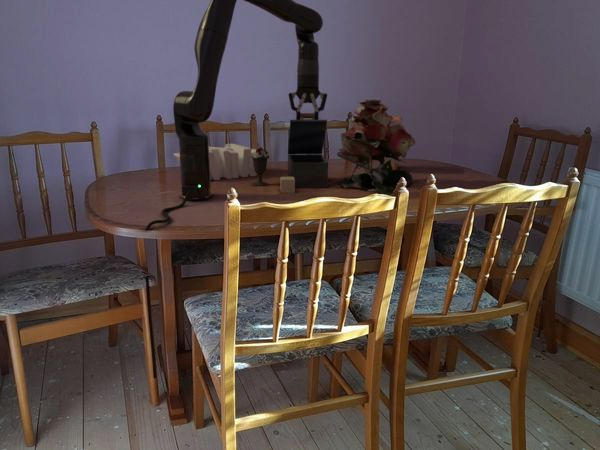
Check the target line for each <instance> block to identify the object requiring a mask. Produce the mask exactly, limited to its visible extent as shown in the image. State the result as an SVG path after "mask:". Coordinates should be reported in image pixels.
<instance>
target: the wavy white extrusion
mask: <svg viewBox="0 0 600 450" xmlns="http://www.w3.org/2000/svg"><path fill="white" fill-rule="evenodd" d="M256 149H257V148H250V147H247V146H243V145H241V144H236V143H226V144H224V147H218V146H209V164H210V182H211V181H212V180H213V181H221V178H224V179H226V180H231V179H239V177H241V178H247V177H256V176H257V177H258V176H259V175H258V174H257V173H256V172H255V171H254V165H253V159H252V157H251V156H253V154H254V153H255V152H256ZM173 156H174V157H175V158H176V160H177V161H178V163H179V164H180V152H174V153H173Z"/></svg>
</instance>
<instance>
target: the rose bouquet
mask: <svg viewBox="0 0 600 450" xmlns="http://www.w3.org/2000/svg"><path fill="white" fill-rule="evenodd" d="M359 104H360V106H361V107H357V108H356V109H355V110H354V114H356V115H354V116H351V118H350V119H351V122H352V124H353V126H351V127H350V128H349V129H346V131H345V132H342V133H341V134H340V138H341V139H340V141H341V143H340V144H341V147H342V148H338V150H339V151H338V152H337V153H336V156H337V157H339V158H341V159H344V160H346V161H348V162H351V163H352V164H355V166H354V169H353V171H352V174H351V176H349V177H347V179H346V181H344V182H340V183H339V184H340V185H341V186H343V189H349V188H356V189H358V190H359V189H360V190H363V191H369V192H373V193H376V194H379V193H381V194H384V195H391V194H393V193H392V192H393V191H394V190H395V188H396V185H397V183H398V182H399V180H400V178H401V177H404V178H405V179H406V181H407V186H409V185H410V184H411V183H412V182H413V175H412V174H411V172H410V171H409V172H408V170H405V169H403V168H397V169H396V170H393V168H392V166H391V159H390V160H389V161H387V162H386V163H384V162H385V159H384V157H388V158H392V159H394V160H396V161H398V163H405V164H406V163H407V162H406V161H404V160H401V159H400V158H401V157H402V158H403V159H405V158H406V157H407V156H408V151H410V149H411V147H412V146H414V145H415V144H416V139H415V138H414V137H413V136H412V134H410V133H409V132H408V131H407V129H406V128H405V126H404V125H403V124H400V123H398V122H391V121H392V119H393V117H394V116H392V115H389V114H388V112H387V111H388V110H389V107H388V106H387V105H385V104H383V103H382V100H381V99H376V98H375V99H374V98H373V99H364V100H363V101H360V102H359ZM398 157H399V159H398ZM373 161H378V162H379V165H378V166H377V167H376V168H375V167H374V168H373ZM387 166H388V168H387ZM361 168H363V170H364V171H365V172H359V173H357V174H356V175H354V173H355V172H356V171H357V170H358V171H359V170H360V169H361ZM371 186H373V187H375V188H371V189H368V188H367V187H371ZM381 194H380V195H381Z"/></svg>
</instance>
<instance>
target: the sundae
mask: <svg viewBox="0 0 600 450" xmlns="http://www.w3.org/2000/svg"><path fill="white" fill-rule="evenodd" d="M255 149H256V152H255V153H254V154H253V156H251V157H252V159H253V165H254V171H255V172H256V173H257V174H258V175H257V176H258V179H257V182H253V186H257V187H265V186H267V185H268V183H267V182H264V181H263V175H264V174H265V173H266V170H267V164H268V159H269V158H270V155H268V154H269V152H268V151H267V150H266V149H264V148H263V147H262V146H260V145H259V143H257V142H256V148H255Z"/></svg>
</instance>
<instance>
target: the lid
mask: <svg viewBox="0 0 600 450" xmlns="http://www.w3.org/2000/svg"><path fill="white" fill-rule="evenodd" d="M314 118H315V113H314V112H302V113H301V119H300V120H296V119H289V131H288V143H287V144H288V145H287V155H305V154H322V155H323V149H324V145H325V143H324V142H325V136H326V131H327V124H328V119H318V120H315V119H314Z"/></svg>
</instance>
